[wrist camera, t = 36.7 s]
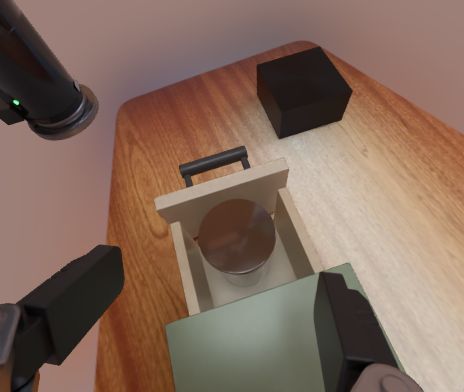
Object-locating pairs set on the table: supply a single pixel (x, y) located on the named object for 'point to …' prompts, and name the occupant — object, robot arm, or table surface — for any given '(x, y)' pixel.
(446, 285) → the table surface
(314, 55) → the stand
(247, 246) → the jar
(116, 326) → the table surface
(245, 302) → the cabinet
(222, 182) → the drawer
